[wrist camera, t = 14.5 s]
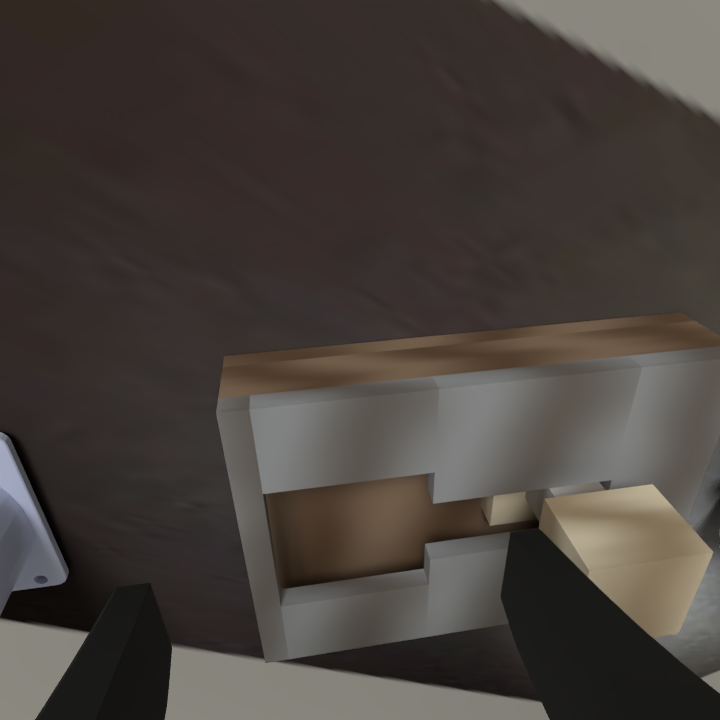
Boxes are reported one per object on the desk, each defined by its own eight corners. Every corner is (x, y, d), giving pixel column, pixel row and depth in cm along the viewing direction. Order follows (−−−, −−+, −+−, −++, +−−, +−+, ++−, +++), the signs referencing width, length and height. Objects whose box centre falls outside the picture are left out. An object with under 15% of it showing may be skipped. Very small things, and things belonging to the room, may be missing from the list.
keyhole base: (265, 590, 26) (265, 662, 23) (224, 356, 20) (216, 413, 16) (614, 539, 28) (657, 599, 25) (681, 312, 22) (750, 355, 18)
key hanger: (480, 505, 24) (553, 661, 18) (490, 418, 22) (579, 564, 16) (581, 492, 25) (685, 638, 19) (601, 406, 22) (730, 541, 16)
